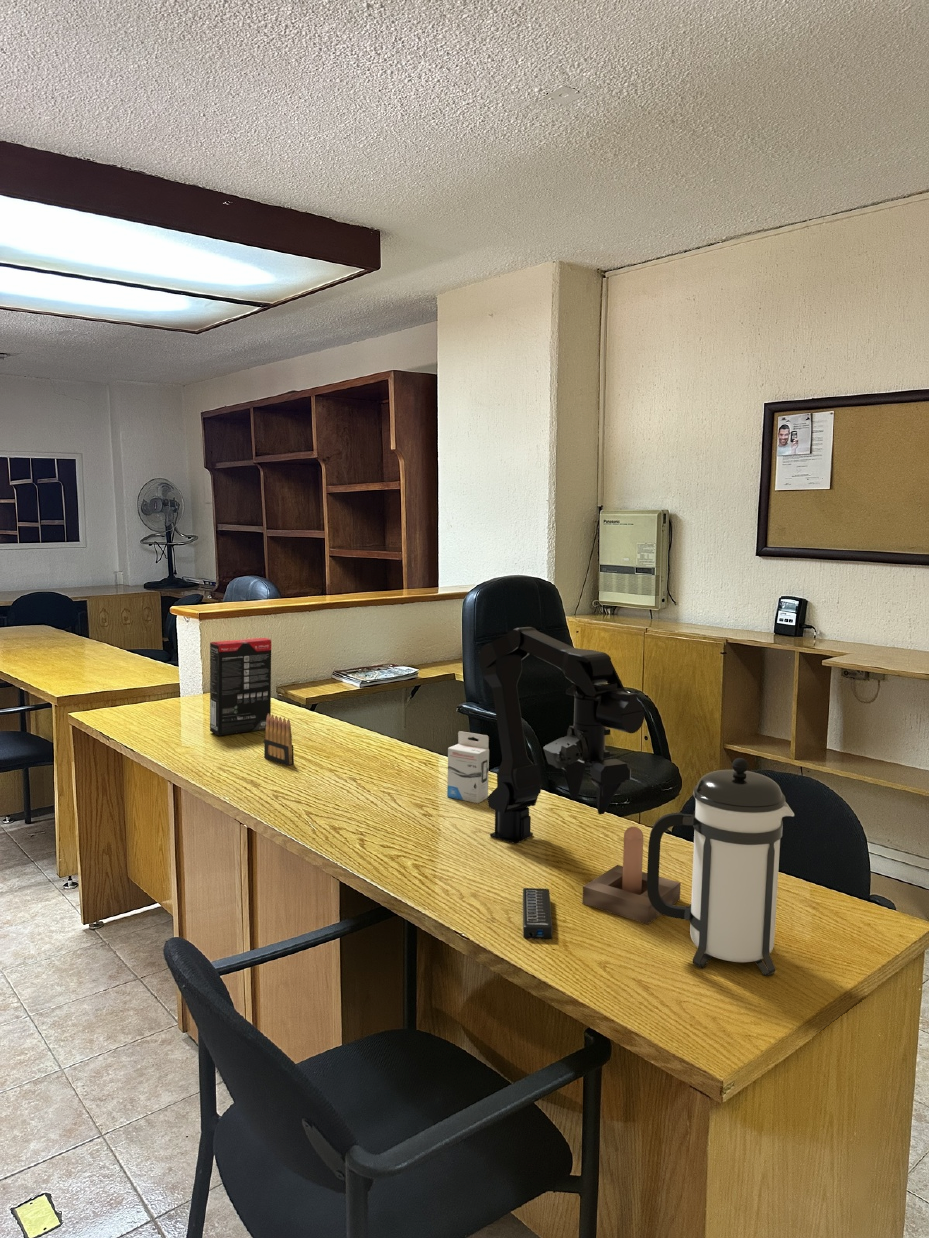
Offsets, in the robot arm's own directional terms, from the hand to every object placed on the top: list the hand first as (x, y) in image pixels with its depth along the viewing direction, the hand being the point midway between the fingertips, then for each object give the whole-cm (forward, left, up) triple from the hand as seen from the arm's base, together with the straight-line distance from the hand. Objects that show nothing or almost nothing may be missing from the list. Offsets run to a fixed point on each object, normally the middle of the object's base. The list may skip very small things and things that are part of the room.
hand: (587, 806), depth 162 cm
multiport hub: (+4, -22, -13) cm, 26 cm away
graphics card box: (-131, +25, -12) cm, 134 cm away
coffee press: (+32, -15, -12) cm, 37 cm away
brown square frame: (+13, -7, -12) cm, 19 cm away
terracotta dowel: (+13, -7, -12) cm, 19 cm away
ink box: (-42, +19, -12) cm, 48 cm away
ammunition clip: (-98, +11, -12) cm, 99 cm away
